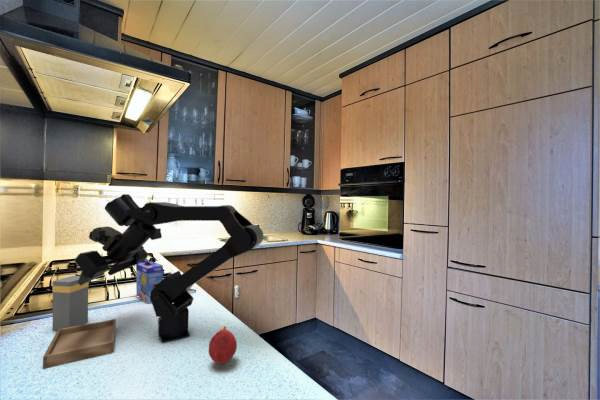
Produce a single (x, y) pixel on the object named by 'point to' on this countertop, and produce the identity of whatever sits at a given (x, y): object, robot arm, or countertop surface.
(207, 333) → the countertop surface
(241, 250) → the robot arm
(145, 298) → the ink cartridge box
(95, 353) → the tray
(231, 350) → the onion
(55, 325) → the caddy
